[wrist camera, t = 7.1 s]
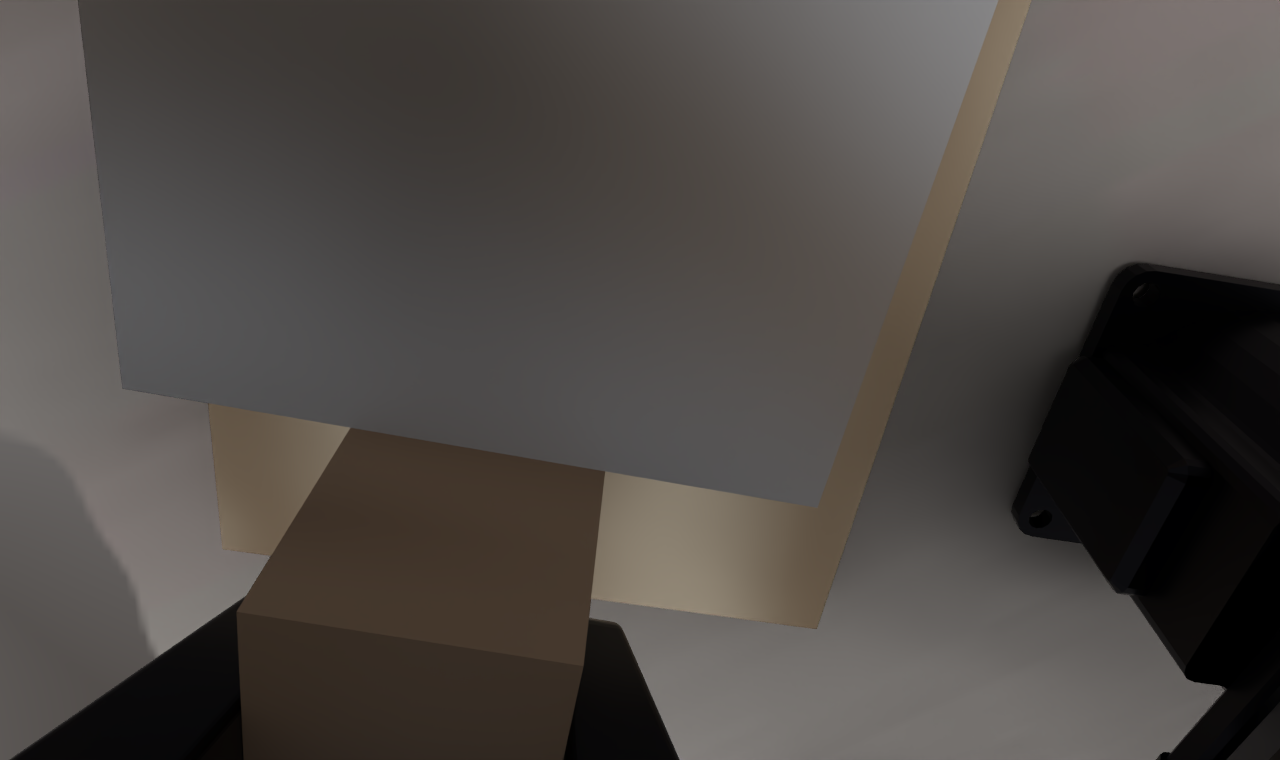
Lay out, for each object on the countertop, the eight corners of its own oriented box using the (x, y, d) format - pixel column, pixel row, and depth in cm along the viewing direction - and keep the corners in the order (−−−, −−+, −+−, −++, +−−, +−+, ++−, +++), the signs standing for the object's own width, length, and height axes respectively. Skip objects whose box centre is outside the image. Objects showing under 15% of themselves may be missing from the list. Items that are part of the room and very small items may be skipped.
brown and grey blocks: (661, 898, 11) (660, 1169, 9) (202, 833, 11) (69, 1099, 9) (1013, -139, 6) (1275, -180, 3) (96, -347, 5) (-388, -571, 3)
